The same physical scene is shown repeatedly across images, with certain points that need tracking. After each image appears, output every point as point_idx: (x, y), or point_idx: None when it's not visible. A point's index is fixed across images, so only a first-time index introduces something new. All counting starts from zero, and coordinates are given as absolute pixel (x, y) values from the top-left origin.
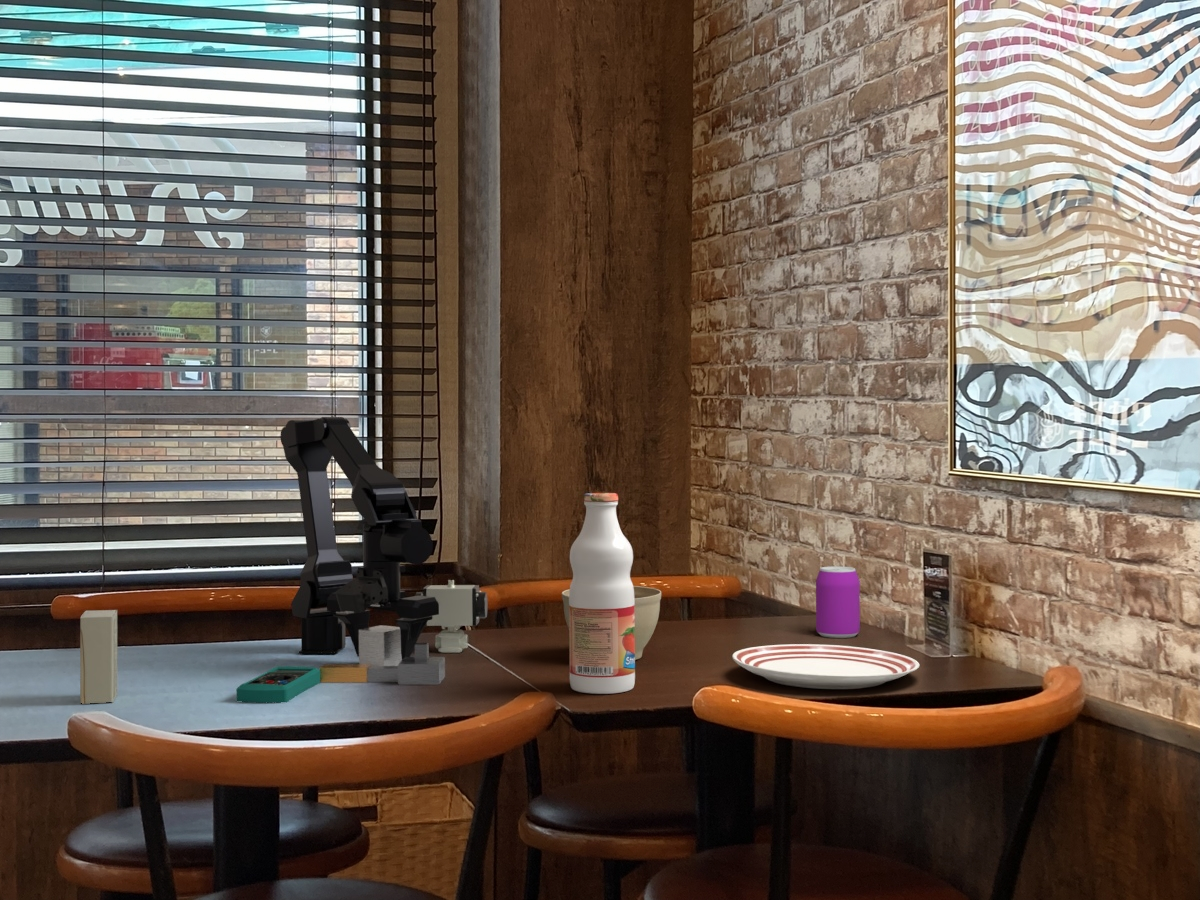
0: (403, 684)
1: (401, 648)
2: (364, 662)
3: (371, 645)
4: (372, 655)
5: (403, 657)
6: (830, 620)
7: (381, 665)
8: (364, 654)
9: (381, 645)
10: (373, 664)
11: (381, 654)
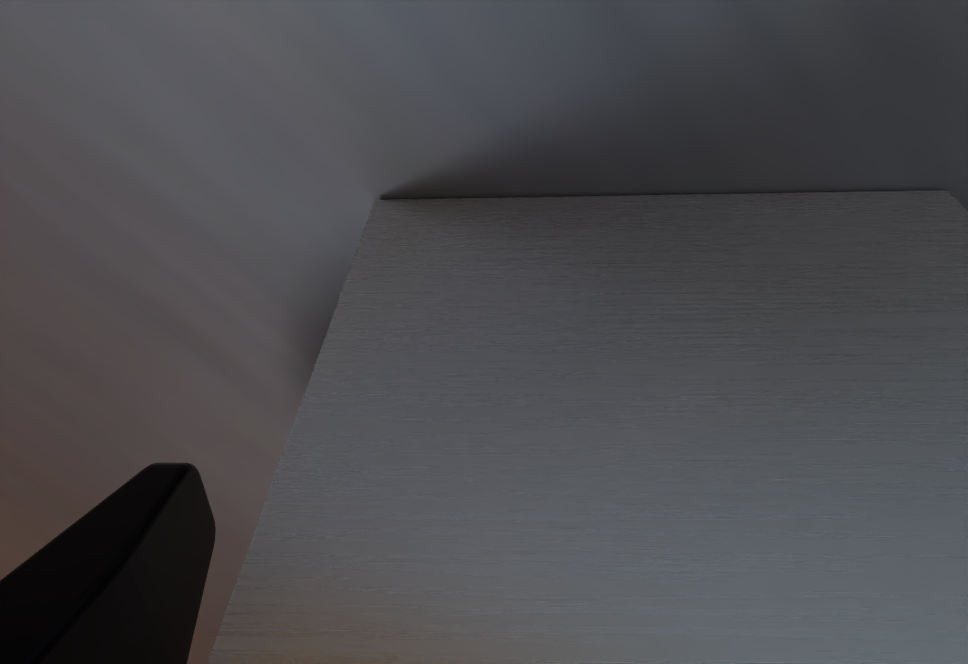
0: None
1: (50, 619)
2: (852, 243)
3: (742, 491)
4: (666, 329)
5: (113, 497)
6: None
7: (430, 240)
8: (911, 332)
9: (362, 510)
10: (619, 234)
11: (395, 354)
